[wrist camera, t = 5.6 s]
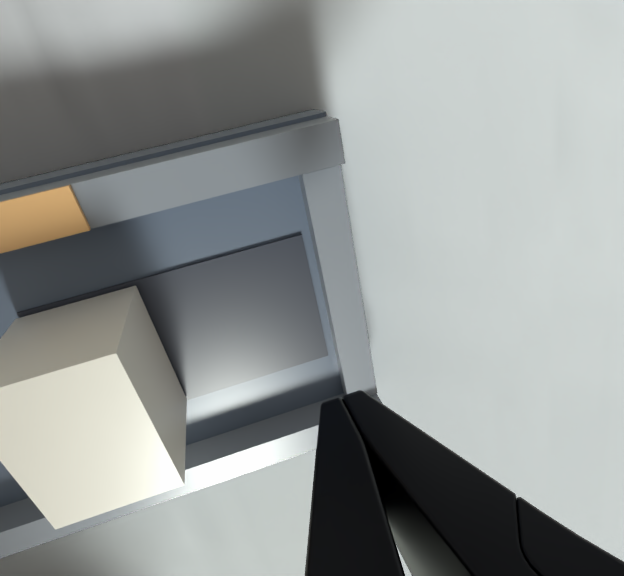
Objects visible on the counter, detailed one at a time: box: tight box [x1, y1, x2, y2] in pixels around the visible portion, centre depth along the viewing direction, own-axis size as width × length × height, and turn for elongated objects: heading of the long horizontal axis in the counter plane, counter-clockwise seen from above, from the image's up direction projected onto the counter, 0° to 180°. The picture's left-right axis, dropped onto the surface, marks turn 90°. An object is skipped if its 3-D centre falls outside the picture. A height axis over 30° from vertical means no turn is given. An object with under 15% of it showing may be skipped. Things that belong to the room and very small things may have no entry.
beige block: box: [0, 286, 187, 530], centre depth 10 cm, size 4×3×3 cm
